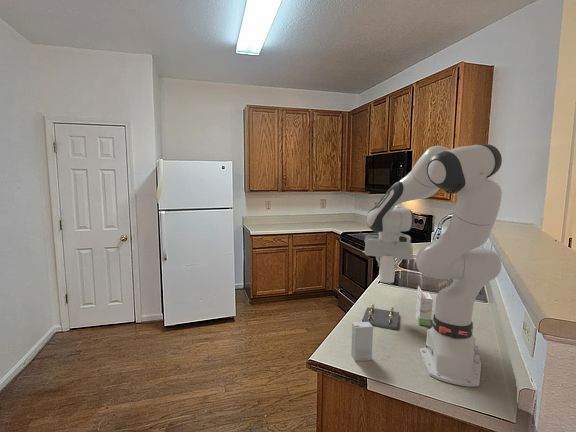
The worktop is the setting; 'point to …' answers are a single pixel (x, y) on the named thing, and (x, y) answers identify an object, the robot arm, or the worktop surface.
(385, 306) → the worktop surface
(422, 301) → the ink box
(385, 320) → the plate
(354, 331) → the skincare box
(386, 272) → the can
